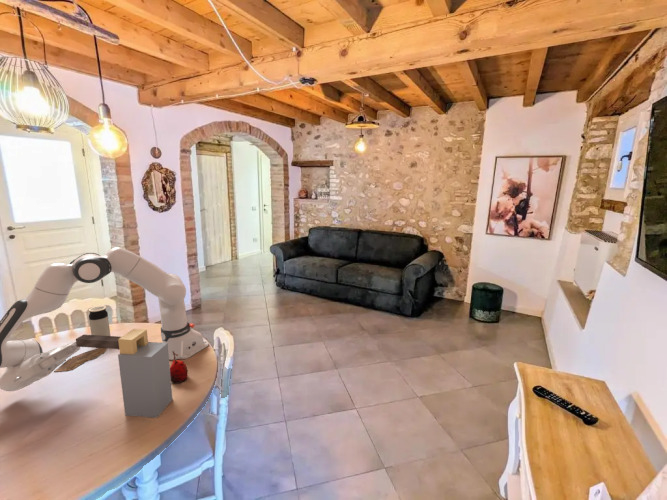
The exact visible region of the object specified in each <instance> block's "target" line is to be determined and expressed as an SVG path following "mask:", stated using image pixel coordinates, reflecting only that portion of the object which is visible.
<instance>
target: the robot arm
mask: <svg viewBox="0 0 667 500" xmlns="http://www.w3.org/2000/svg"><path fill="white" fill-rule="evenodd" d="M110 273H115V274H116V275H119V276H120V277H123V278H125V279H126V280H129V281H130V282H132V283H133V284H136V285H138V286H139V287H141V288H143V289H144V290H146V291H147V292H149V293H150V294H151V295H153V296H155V297H156V298H157V299H158V306H159V314H160V322H161V323H160V324H161V325H160V326H161V327H160V337H161V343H168V353H169V361H170V360H171V361H174V360H175V359H176V360H187V359H189V358H190V357H192V356H194V355H196V354H197V353H199V352H200V351H202V350H203V349H205V348H207V347H209V346H210V344H209V342H208V340H206V339H205V338H204V337H203V334H202V333H200V332H199V331H197V330H195V329H194V328H195V324H194V323H190V322H188V321H187V310H186V305H185V303H186V302H185V298H186V294H187V288H186V286H185V284H184V283H183V281H182V279H181V278H180V276H178V275H177V274H174V273H171V272H170V273H167V272H166V271H164V270H163V269H162V268H160V267H159V266H157V265H156V264H154V263H152V262H151V261H149V260H147V258H144V257H143V256H141V255H139V254H137V253H135V252H134V251H133V252H132V251H131V250H128V249H127V248H126V249H125V248H124V247H119V246H115V247H113V248H111V249H109V250H108V251H107V252H106V253H105V254H103V255H100V254H98V253H95V252H86V253H83V254H81V255H79V256H78V257H77V258H75V259H73V260H71V261H70V263H63V262H54V263H51V264H49V265H47V267H46V268H45V269H44V270H43V272H42V273H41V274H40V276H39V278H38V279H37V281H36V282H35V284H34V286H33V288H32V290H31V291H30V292H29V293H28V294H27V295H26V296H24V297H22V299H20V300H17V301H15V302H14V303H13V304H12V305H11V307H10V308H9V309H8V310H7V311H6V313H5V314H4V315H3V317H2V318H1V319H0V369H2V368H3V369H4V368H5V370H4V372H3V373H2V374H1V375H0V390H3V391H5V392H15V391H19V390H21V389H22V390H23V389H24V388H27V387H28V386H30V385H32V384H34V383H35V382H38V381H39V380H42V379H43V378H45V377H48V376H49V375H50V374H52V373H53V372H54V371H55V370H56V369H58V368H59V367H60V366H61V365H62V364H64V363H65V362H66V361H67V360H68V359H69V358H71V357H72V356H73V355H74V354H77V352H78V351H79V350H81V347H77V345H76V341H73V342H70V343H67V344H65V345H63V346H60V347H55V348H53V349H50V350H48V351H45V352H43V348H42V345H41V344H40V343H39V342H38V341H37V340H35V339H18V340H16V339H15V340H10V338H11V336H12V335H13V334H14V332H15V331H16V330H17V328H18V327H19V326H20V325H21V323H23V322H24V321H26V320H29V319H31V318H33V317H36V316H40V315H44V314H48V313H52V312H54V311H56V310H58V309H59V308H61V307H62V306H63V305H64V304H65V302H66V301H67V299H68V297H69V294H70V292H71V290H72V288H73V286H75V284H76V283H77V282H80V283H84V284H93V283H96V282H99V281H100V280H102V279H103V278H105V277H106V276H108V275H110ZM207 342H208V343H207ZM172 351H173V352H174V353H175V354H178V356H176V355H175V357H176V358H175V359H174V355H172V354H173V352H172Z"/></svg>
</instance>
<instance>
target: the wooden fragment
mask: <svg viewBox="0 0 667 500" xmlns="http://www.w3.org/2000/svg"><path fill="white" fill-rule="evenodd" d="M107 349H108V348H93V349H91V350H88V351H86V352H83V353H80V354H77V355H74V356H71V357H69V358H67V359H66V361H64V362H63V363H62V364H60V365H59V366H58V367H57V368H56V369H55V370H53V373H65V372H70V371H74V370H75V369H77V368H78V367H80V366H82V365H84V364H85V363H88V362H89V361H92V360H94V359H97V358H99V357H100V356H101V355H104V354H105V352H106V351H107Z"/></svg>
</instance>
